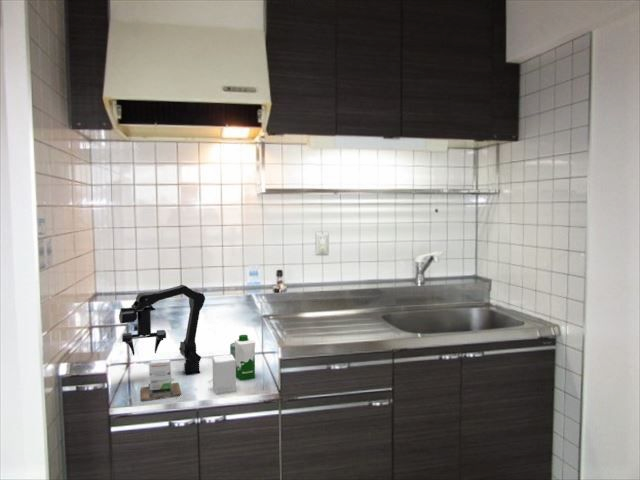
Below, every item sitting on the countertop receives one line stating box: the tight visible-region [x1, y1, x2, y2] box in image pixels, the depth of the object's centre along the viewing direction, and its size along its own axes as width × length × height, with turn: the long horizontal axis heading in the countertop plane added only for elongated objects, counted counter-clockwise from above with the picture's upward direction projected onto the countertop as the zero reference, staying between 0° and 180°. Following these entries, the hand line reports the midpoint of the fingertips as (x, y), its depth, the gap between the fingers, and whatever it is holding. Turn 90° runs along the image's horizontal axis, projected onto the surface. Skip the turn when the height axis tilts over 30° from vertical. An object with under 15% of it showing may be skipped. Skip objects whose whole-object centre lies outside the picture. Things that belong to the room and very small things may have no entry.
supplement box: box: [212, 354, 237, 396], centre depth 205 cm, size 9×9×15 cm
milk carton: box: [234, 334, 256, 381], centre depth 221 cm, size 9×9×20 cm
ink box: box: [148, 359, 172, 390], centre depth 204 cm, size 9×5×12 cm, turn 102°
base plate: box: [140, 382, 182, 402], centre depth 204 cm, size 16×14×2 cm
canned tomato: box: [229, 342, 235, 359], centre depth 240 cm, size 8×8×11 cm
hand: (144, 354), depth 216 cm, fingers open, 9 cm apart
